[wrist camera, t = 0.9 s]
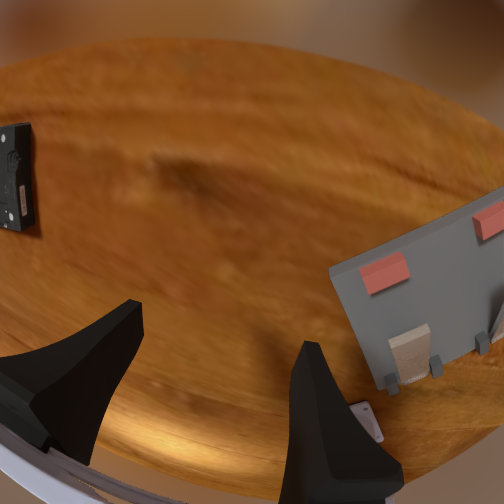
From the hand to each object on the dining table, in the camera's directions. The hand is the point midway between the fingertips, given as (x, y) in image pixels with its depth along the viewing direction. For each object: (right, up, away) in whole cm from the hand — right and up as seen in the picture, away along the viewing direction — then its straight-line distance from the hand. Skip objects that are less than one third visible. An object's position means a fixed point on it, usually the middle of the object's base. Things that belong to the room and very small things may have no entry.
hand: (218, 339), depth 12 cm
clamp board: (+17, 0, +7) cm, 18 cm away
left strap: (+13, -4, +6) cm, 15 cm away
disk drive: (-26, +13, +10) cm, 31 cm away
